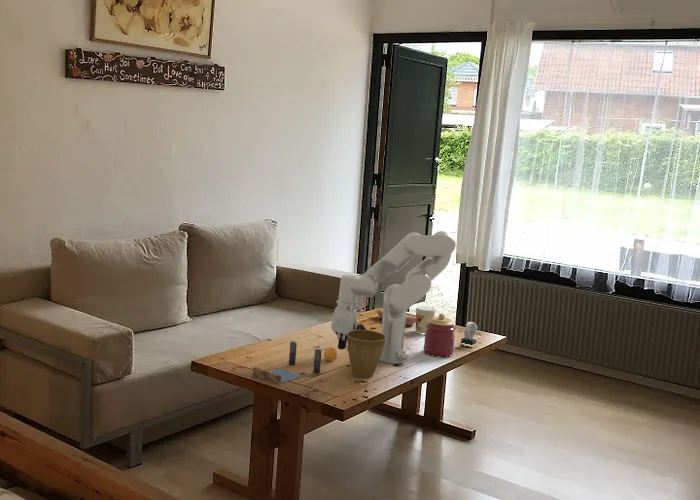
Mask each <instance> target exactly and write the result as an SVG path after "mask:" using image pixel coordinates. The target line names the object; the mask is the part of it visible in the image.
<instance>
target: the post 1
mask: <svg viewBox="0 0 700 500" xmlns="http://www.w3.org/2000/svg"><path fill="white" fill-rule="evenodd" d="M297 344H298V343H297V341H295V340H294V341H293V340H292V341H290V342H289V352H288V353H289V355H288V365H289V366H295V365H296V363H297V362H296V358H297Z"/></svg>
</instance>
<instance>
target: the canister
mask: <svg viewBox="0 0 700 500" xmlns="http://www.w3.org/2000/svg"><path fill="white" fill-rule="evenodd" d="M428 322H429V323H428V324H426V328H427V329H426V332H425V335H424V344H423V352H425V353H424V354H426V355H428V354H429V355H428V356H431V355H433V356H432V357H436V356H441V357H440V358H444V357H443V356H449V357H451V356H450V355H452V356H453V353H454V349H455V348H454V344H455V343H454V342H455V335H456V334H455V331H456V327H455V326H454V325H455V322H454V321H453V320H452V319H451V318H449V317H445V314H444V313H440V314H438V316H434V317H432V318H431V319H429V320H428Z"/></svg>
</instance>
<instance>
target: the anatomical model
mask: <svg viewBox="0 0 700 500" xmlns="http://www.w3.org/2000/svg"><path fill="white" fill-rule="evenodd" d="M376 311H377V312H376V313H377V315H378V317H379V318H380V319H382V320H383V307H379V308H377V309H376ZM414 324H416V314H413V313H407V312H406V323H405V326H406V325H411V326H413V325H414Z"/></svg>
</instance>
